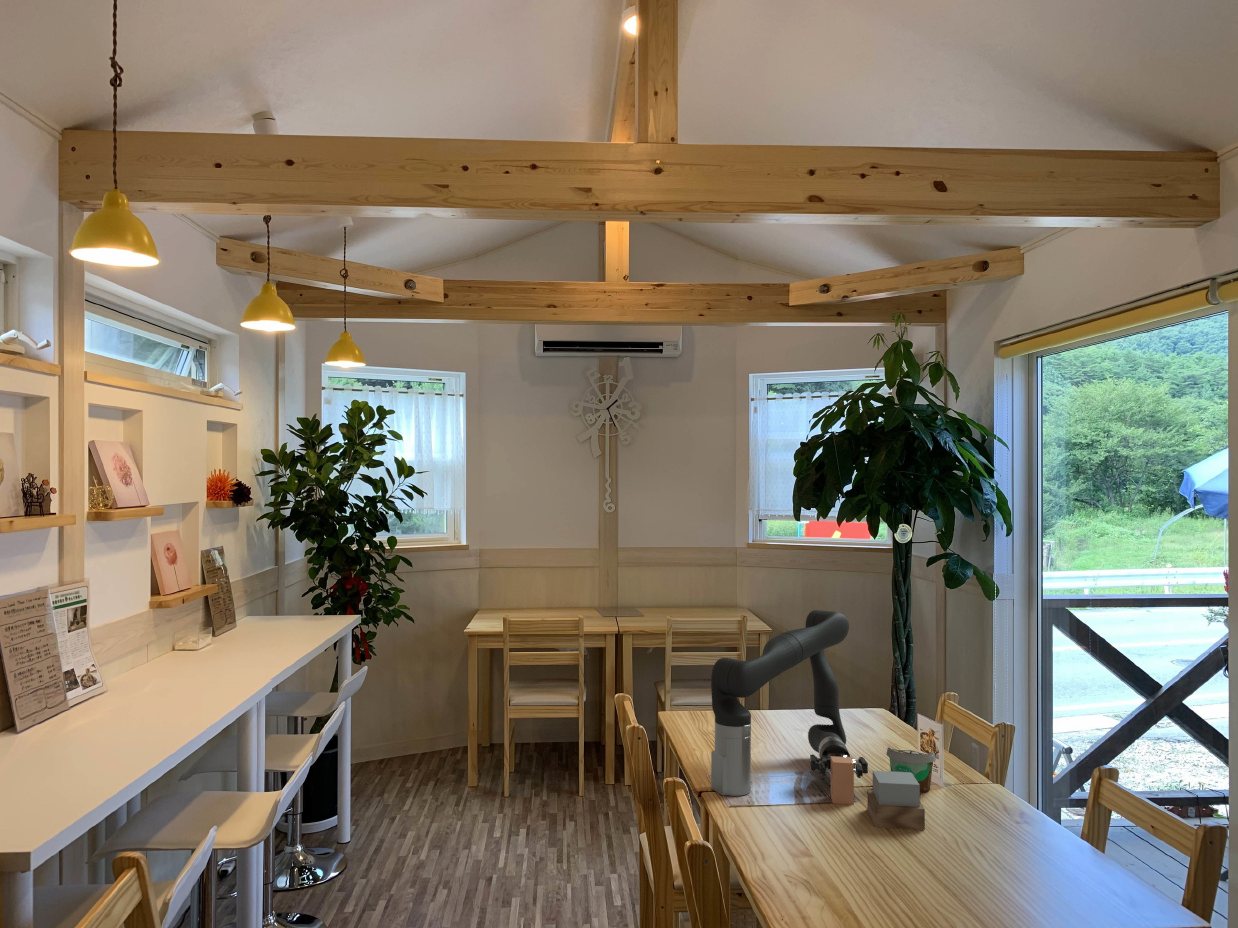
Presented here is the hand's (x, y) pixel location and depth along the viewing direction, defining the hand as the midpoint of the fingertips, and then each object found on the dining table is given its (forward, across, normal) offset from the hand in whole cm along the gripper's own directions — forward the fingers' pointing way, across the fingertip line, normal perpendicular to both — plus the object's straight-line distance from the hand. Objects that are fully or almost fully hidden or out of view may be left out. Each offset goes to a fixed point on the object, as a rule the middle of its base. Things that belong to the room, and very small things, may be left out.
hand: (841, 772), depth 215 cm
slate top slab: (+12, +11, +2) cm, 16 cm away
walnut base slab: (+12, +11, +7) cm, 17 cm away
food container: (-10, +18, +7) cm, 22 cm away
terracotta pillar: (+1, 0, +7) cm, 7 cm away
